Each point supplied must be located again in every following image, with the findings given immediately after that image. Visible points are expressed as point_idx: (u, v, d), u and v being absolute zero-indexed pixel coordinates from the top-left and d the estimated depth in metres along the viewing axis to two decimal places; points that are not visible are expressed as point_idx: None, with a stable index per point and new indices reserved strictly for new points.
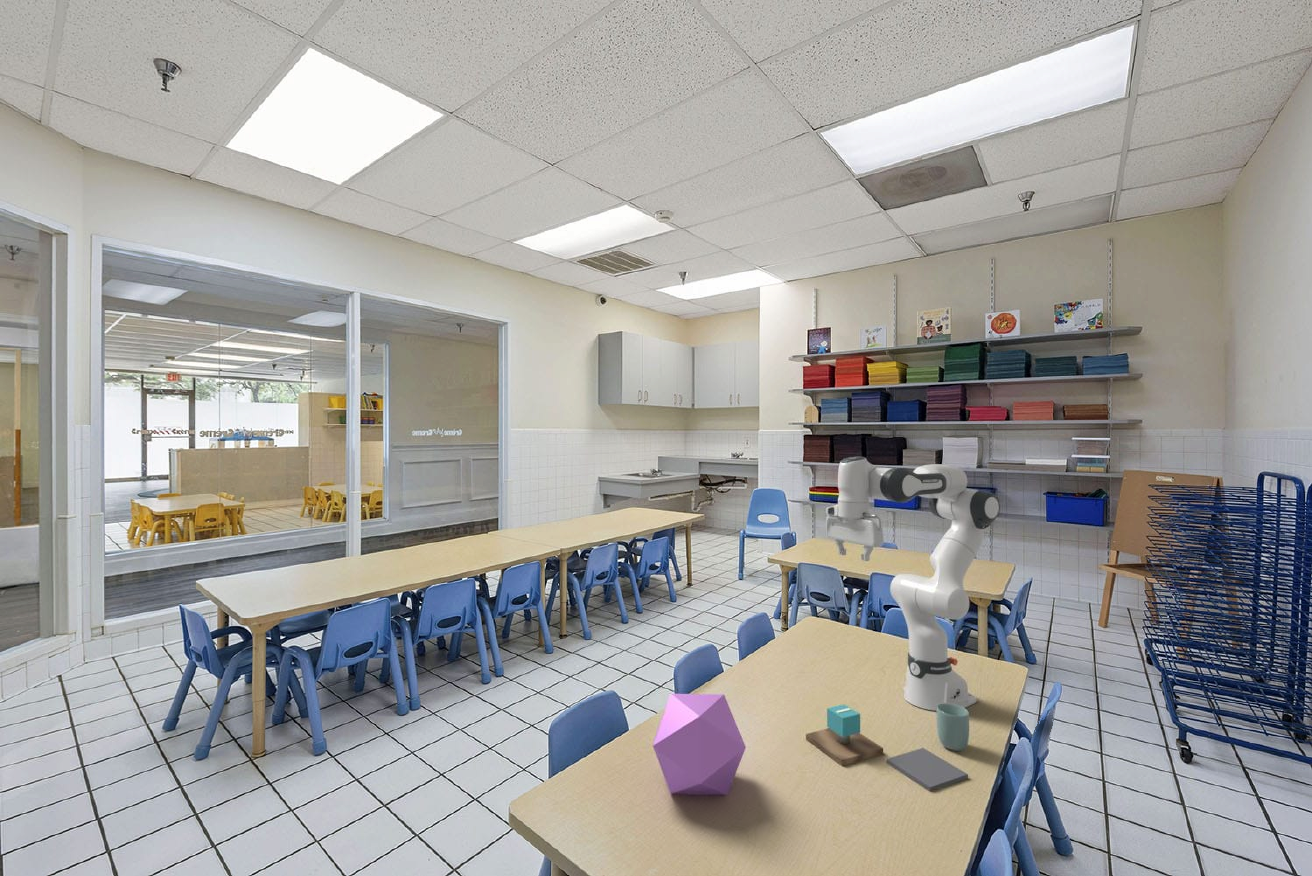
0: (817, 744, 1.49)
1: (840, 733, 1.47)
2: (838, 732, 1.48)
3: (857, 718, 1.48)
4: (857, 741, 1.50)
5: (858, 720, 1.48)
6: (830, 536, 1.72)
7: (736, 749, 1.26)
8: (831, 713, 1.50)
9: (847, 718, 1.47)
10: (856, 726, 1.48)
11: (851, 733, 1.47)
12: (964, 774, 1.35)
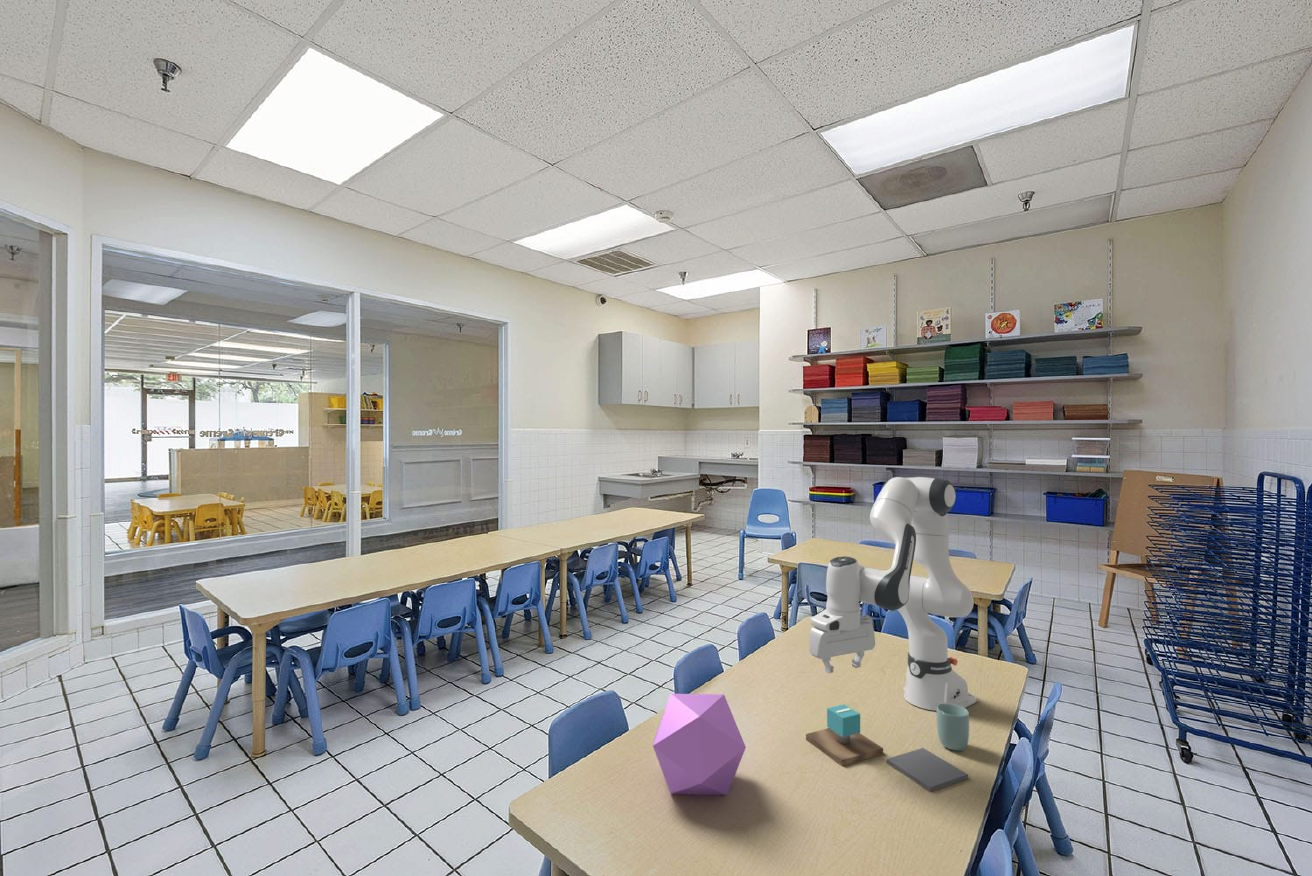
0: (817, 744, 1.49)
1: (840, 733, 1.47)
2: (838, 732, 1.48)
3: (857, 718, 1.48)
4: (857, 741, 1.50)
5: (858, 720, 1.48)
6: (824, 656, 1.46)
7: (736, 749, 1.26)
8: (831, 713, 1.50)
9: (847, 718, 1.47)
10: (856, 726, 1.48)
11: (851, 733, 1.47)
12: (964, 774, 1.35)
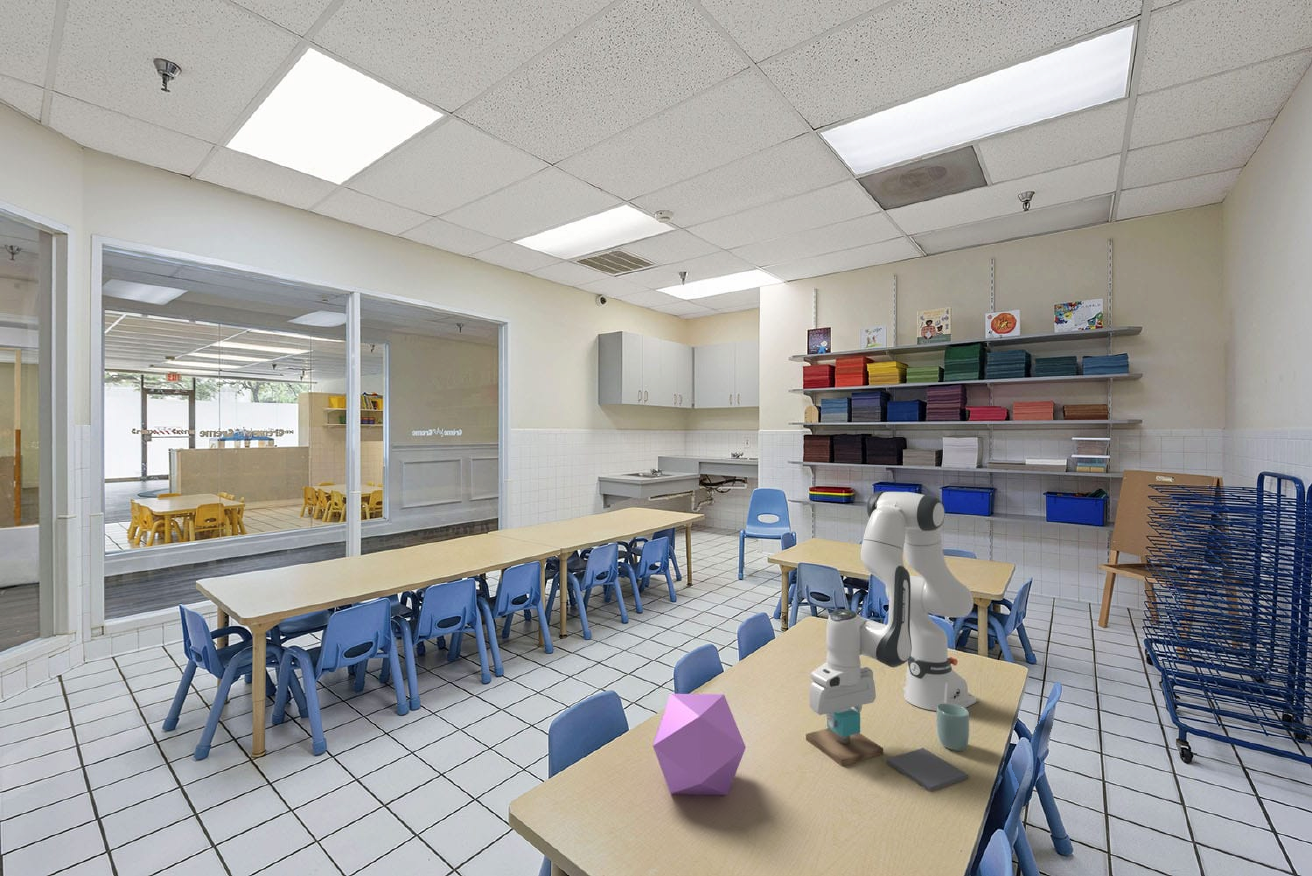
0: (817, 744, 1.49)
1: (840, 733, 1.47)
2: (838, 732, 1.48)
3: (857, 718, 1.48)
4: (857, 741, 1.50)
5: (858, 720, 1.48)
6: (824, 712, 1.45)
7: (736, 749, 1.26)
8: None
9: (847, 718, 1.47)
10: (856, 726, 1.48)
11: (851, 733, 1.47)
12: (964, 774, 1.35)
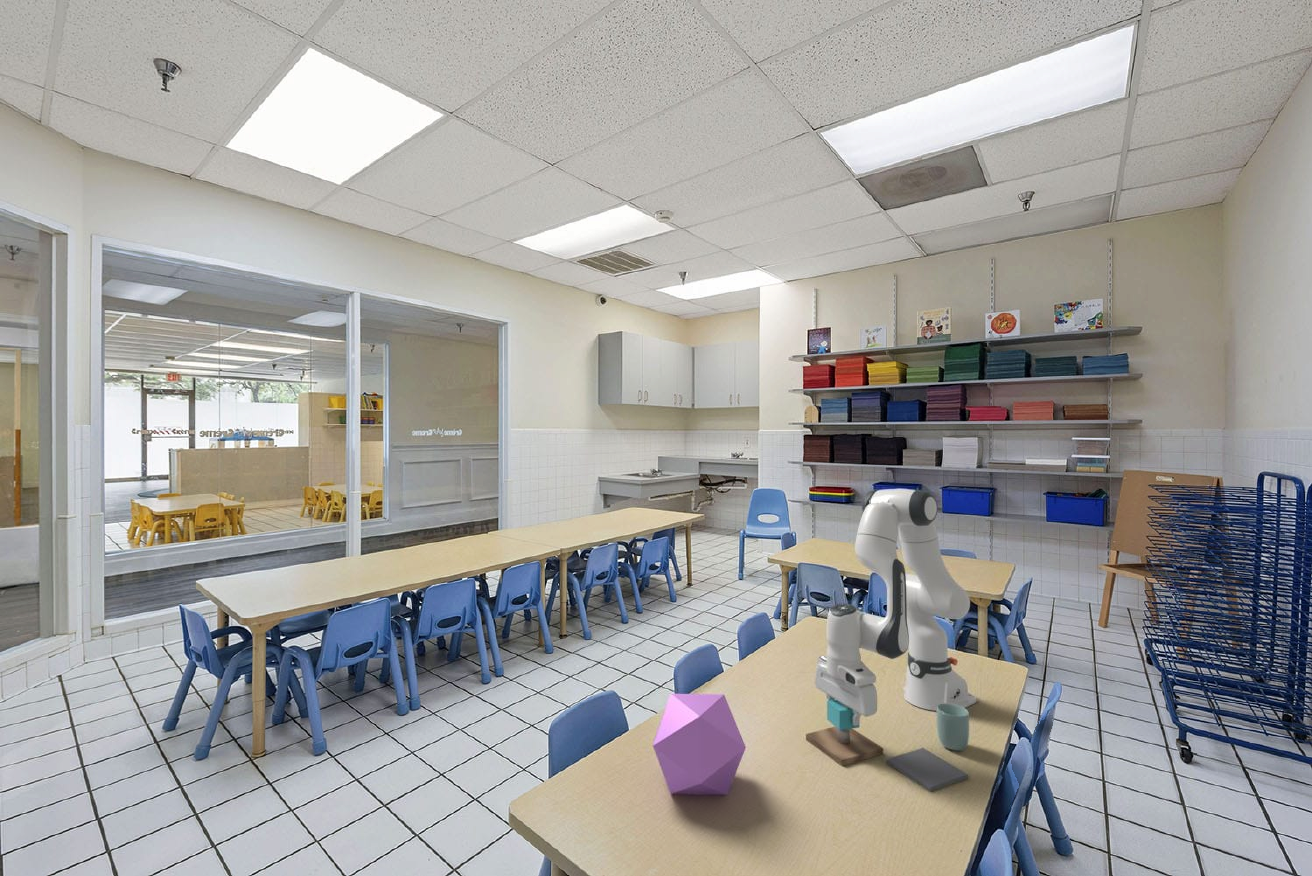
0: (817, 744, 1.49)
1: None
2: (854, 726, 1.48)
3: None
4: (857, 741, 1.50)
5: None
6: None
7: (736, 749, 1.26)
8: (845, 712, 1.47)
9: None
10: None
11: None
12: (964, 774, 1.35)
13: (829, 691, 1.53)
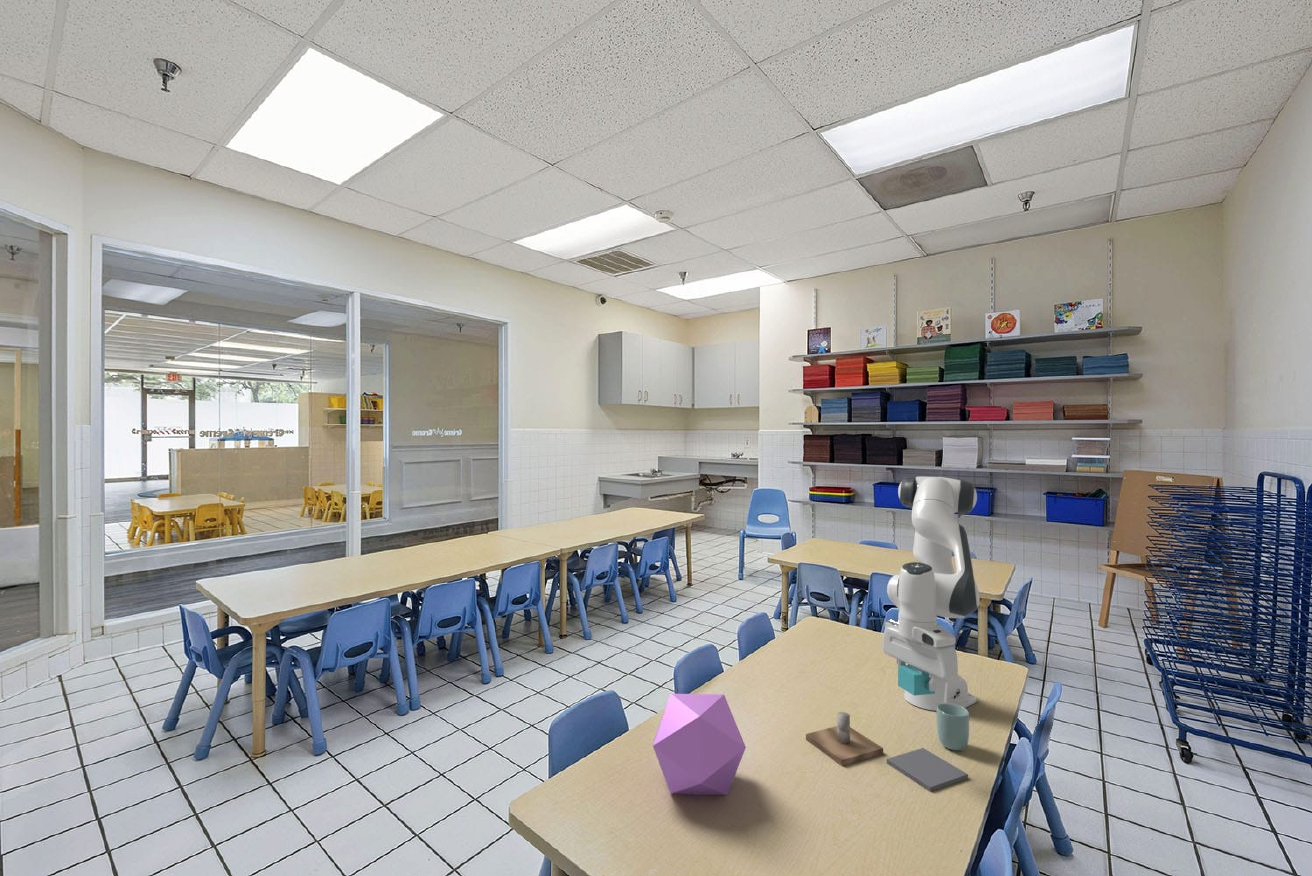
0: (817, 744, 1.49)
1: (931, 691, 1.38)
2: (929, 692, 1.38)
3: None
4: (857, 741, 1.50)
5: None
6: None
7: (736, 749, 1.26)
8: (920, 677, 1.37)
9: None
10: None
11: None
12: (964, 774, 1.35)
13: (900, 656, 1.43)
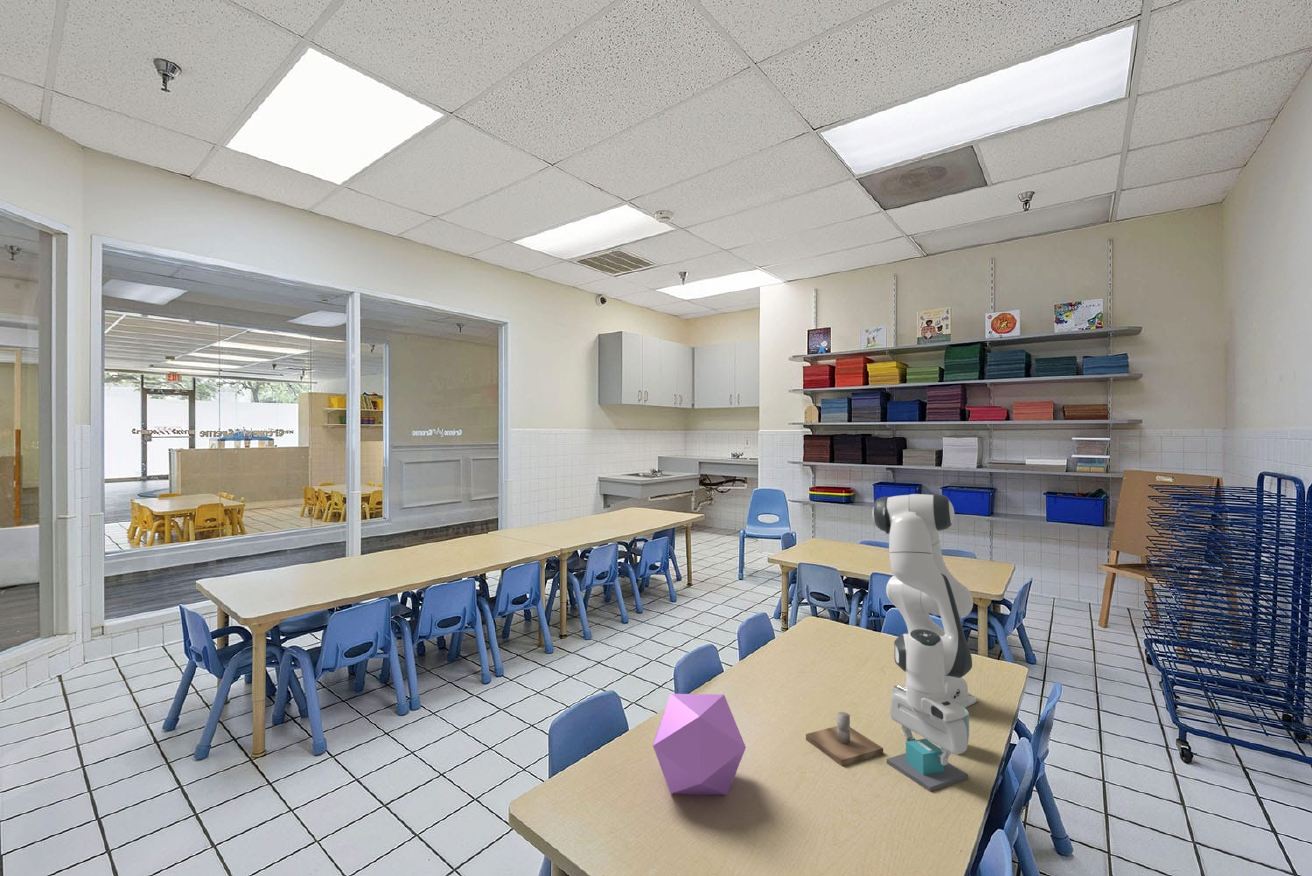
0: (817, 744, 1.49)
1: (940, 769, 1.37)
2: (938, 770, 1.36)
3: None
4: (857, 741, 1.50)
5: None
6: None
7: (736, 749, 1.26)
8: (929, 755, 1.36)
9: None
10: None
11: None
12: (964, 774, 1.35)
13: (908, 724, 1.42)
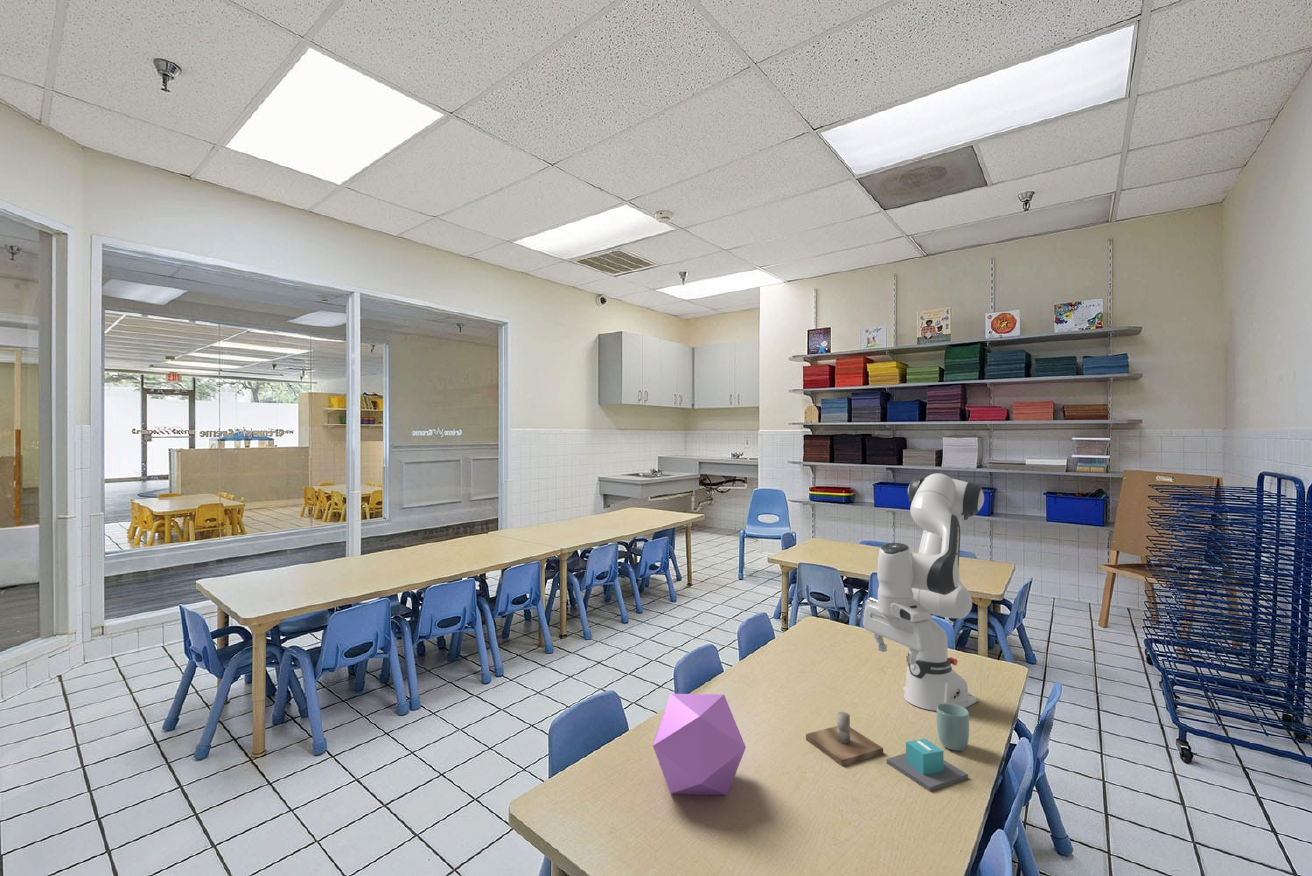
0: (817, 744, 1.49)
1: (940, 769, 1.37)
2: (938, 770, 1.36)
3: None
4: (857, 741, 1.50)
5: None
6: None
7: (736, 749, 1.26)
8: (929, 755, 1.36)
9: None
10: None
11: None
12: (964, 774, 1.35)
13: (880, 631, 1.51)
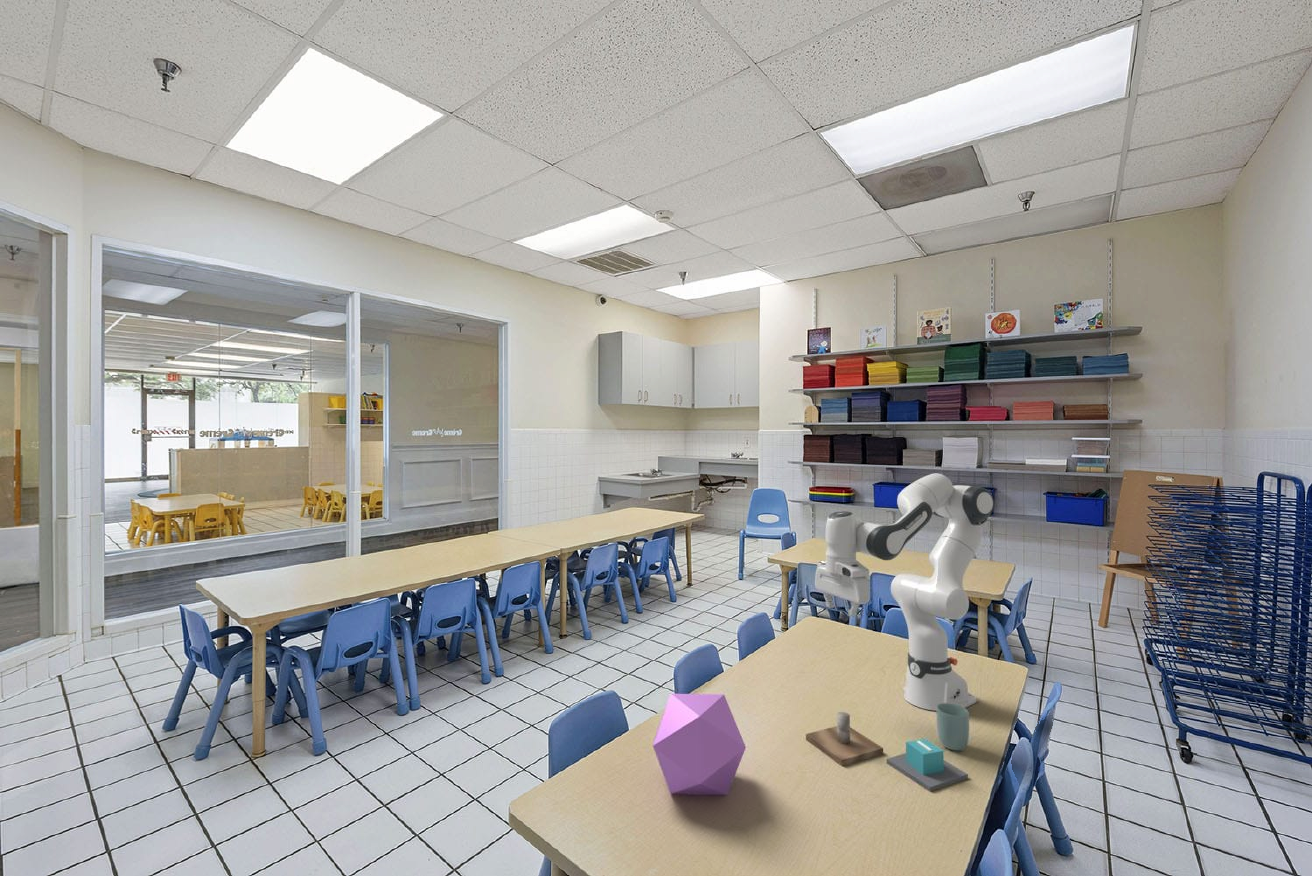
0: (817, 744, 1.49)
1: (940, 769, 1.37)
2: (938, 770, 1.36)
3: None
4: (857, 741, 1.50)
5: None
6: None
7: (736, 749, 1.26)
8: (929, 755, 1.36)
9: None
10: None
11: None
12: (964, 774, 1.35)
13: (827, 589, 1.71)
